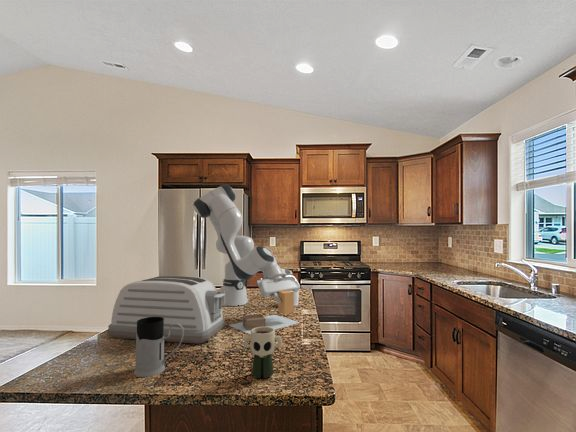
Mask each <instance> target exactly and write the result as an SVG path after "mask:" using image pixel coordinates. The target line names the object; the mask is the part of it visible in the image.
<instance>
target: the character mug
mask: <svg viewBox="0 0 576 432" xmlns="http://www.w3.org/2000/svg"><path fill="white" fill-rule="evenodd" d="M248 340H250V344H249V343H248ZM276 340H277V343H276ZM243 346H244V348H247V349H249V348H250V351H251V353H252V354H253V362H252V368H251V375H252V376H253V377H254V378H256V379H257V378H258V379H261V376H262V375H263V379H267V378H270V377H271V376H273V374H274V372H275V371H274V363H273V356H272V355H271V354H273V353H274V352H275V350H276V348H281V347H282V337H281V335H276V329H275V330H274V328H271V327H256V328H253V329H252V330H251V335H246V336H244V338H243Z"/></svg>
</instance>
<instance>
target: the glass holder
mask: <svg viewBox="0 0 576 432" xmlns="http://www.w3.org/2000/svg"><path fill="white" fill-rule="evenodd" d="M173 325H179V326H180V327H181V329H182V338H181V341H180V343H179V342H178V345H177V346H176V348H175V349H174V350H173V351H172V352H171V353H170V354H167V356H166V357H164V356H165V341H164V339H166V338H168V337H169V335H170V329H171V327H172V326H173ZM173 325H171V326H170V328H169V331H168V337H164V318H162V317H147V318H143V319H140V320H138V321H137V330H136V339H135V367H134V368H135V369H134V370H133V375H134V376H135V377H140V378H149V377H153V376H156V375H160V374H161V373H163V372H165V370H166V366H165V362H166V360H167V359H168V358H169V357H170V356H172V355H173V354H174V353H175V352H176V351H177V350H178V349H179V347H180V346H181V344H182V343H181V342H182V339H183V333H184V331H183V327H182V326H181V325H180V324H176V323H175V324H173Z"/></svg>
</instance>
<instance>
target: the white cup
mask: <svg viewBox="0 0 576 432" xmlns="http://www.w3.org/2000/svg"><path fill="white" fill-rule="evenodd" d="M299 298H300V289H299V290H298V292H294V307H298V306H299Z"/></svg>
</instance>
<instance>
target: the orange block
mask: <svg viewBox="0 0 576 432" xmlns="http://www.w3.org/2000/svg"><path fill="white" fill-rule="evenodd" d="M277 296H278V297H279V298H282V300H283V301H282V303H278V302H277V304H278V305H277V312H278V313H281V314H284V315H287V314H292V313H294V312H295V311H294V309H295V306H294V292H292V291H288V290H287V291H281V292H278V295H277Z"/></svg>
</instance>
